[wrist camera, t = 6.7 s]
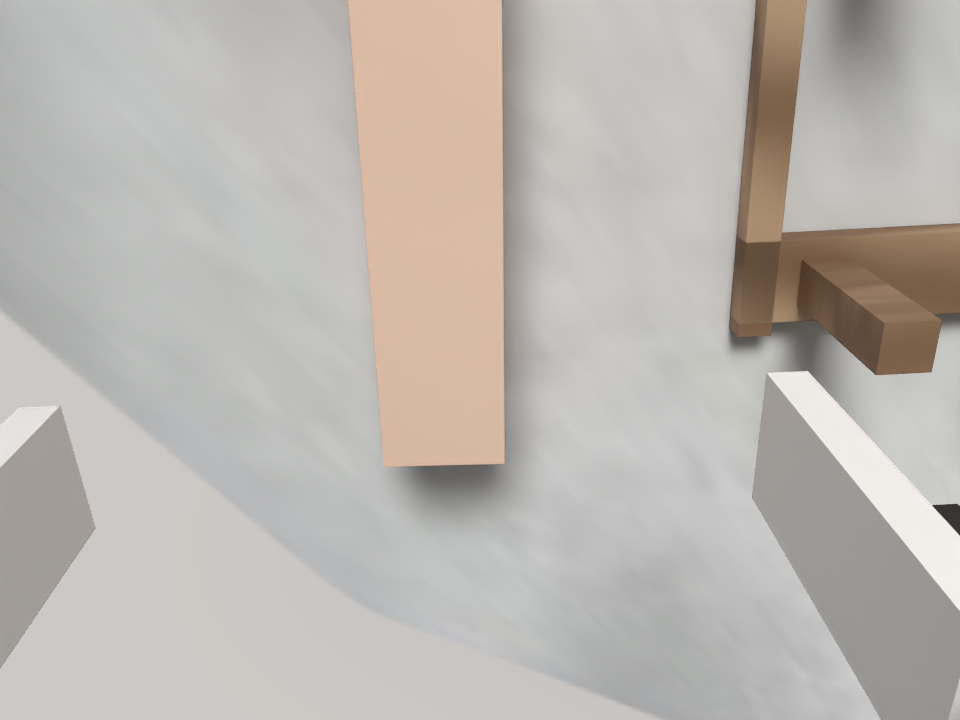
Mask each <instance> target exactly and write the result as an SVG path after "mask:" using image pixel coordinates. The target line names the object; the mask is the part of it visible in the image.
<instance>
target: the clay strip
mask: <svg viewBox="0 0 960 720" xmlns="http://www.w3.org/2000/svg"><path fill="white" fill-rule="evenodd" d="M348 8H349V21H350V34H351V47H352V60H353V73H354V86H355V99H356V112H357V125H358V138H359V151H360V164H361V177H362V190H363V203H364V216H365V229H366V242H367V255H368V268H369V281H370V294H371V307H372V320H373V333H374V346H375V359H376V372H377V385H378V398H379V411H380V424H381V437H382V450H383V463H384V467H395V466H435V465H475V464H505V460H504V281H503V103H502V0H348Z"/></svg>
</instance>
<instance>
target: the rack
mask: <svg viewBox="0 0 960 720" xmlns="http://www.w3.org/2000/svg"><path fill="white" fill-rule="evenodd" d="M806 3H807V0H757V2H756V14H755V26H754V38H753V50H752V61H751V73H750V85H749V97H748V109H747V121H746V133H745V145H744V157H743V168H742V180H741V192H740V204H739V216H738V228H737V240H736V252H735V263H734V275H733V287H732V299H731V311H730V323H729V327H730V329H731V330H732V331H733V332H734V333H735V335H736V336H737V337H751V336H770V335H771V329H772V323H773V322H793V321H812V320H816V321H817V322H818V323H819V324H820V325H821V326H822V327H824V328H825V329H826V330H827V331H828V332H829V333H830V334H831V335H832V336H833V337H835V338H836V339H837V340H838V341H839V342H840V343H841V344H842V345H843V346H844V347H846V348H847V349H848V350H849V351H850V352H851V353H852V354H853V355H854V356H855V357H856V358H858V359H859V360H860V361H861V362H862V363H863V364H864V365H865V366H866V367H867V368H869V369H870V370H871V371H872V372H873V373H874V374H875V375H887V374H907V373H926V372H932V368H933V363H934V358H935V353H936V348H937V343H938V338H939V333H940V328H941V323H942V320H941V319H939V318H938V317H936V316H935V315H934V314H946V313H960V224H941V225H921V226H902V227H883V228H864V229H845V230H826V231H807V232H788V233H782V226H783V217H784V208H785V198H786V189H787V180H788V171H789V161H790V152H791V143H792V133H793V124H794V115H795V105H796V96H797V87H798V77H799V68H800V59H801V50H802V40H803V31H804V22H805V12H806Z"/></svg>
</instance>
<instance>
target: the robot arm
mask: <svg viewBox="0 0 960 720" xmlns="http://www.w3.org/2000/svg"><path fill="white" fill-rule="evenodd" d="M752 498H753V500H754V502H755V503H756V505H757V507H758V508H759V510H760V512H761V514H762V515H763V517H764V519H765V520H766V522H767V524H768V526H769V527H770V529H771V531H772V533H773V534H774V536H775V538H776V539H777V541H778V543H779V545H780V546H781V548H782V550H783V551H784V553H785V555H786V557H787V558H788V560H789V562H790V564H791V565H792V567H793V569H794V570H795V572H796V574H797V576H798V577H799V579H800V581H801V582H802V584H803V586H804V588H805V589H806V591H807V593H808V594H809V596H810V598H811V600H812V601H813V603H814V605H815V607H816V608H817V610H818V612H819V613H820V615H821V617H822V619H823V620H824V622H825V624H826V625H827V627H828V629H829V631H830V632H831V634H832V636H833V637H834V639H835V641H836V643H837V644H838V646H839V648H840V650H841V651H842V653H843V655H844V656H845V658H846V660H847V662H848V663H849V665H850V667H851V668H852V670H853V672H854V674H855V675H856V677H857V679H858V680H859V682H860V684H861V686H862V687H863V689H864V691H865V693H866V694H867V696H868V698H869V699H870V701H871V703H872V705H873V706H874V708H875V710H876V711H877V713H878V715H879V717H880V718H881V720H960V506H959V505H958V504H946V505H931V504H930V503H929V502H928V501H927V500H926V499H925V498H924V496H923V495H922V494H921V493H920V492H919V491H918V490H917V489H916V488H915V487H914V486H913V485H912V483H911V482H910V481H909V480H908V479H907V478H906V477H905V476H904V475H903V474H902V473H901V472H900V470H899V469H898V468H897V467H896V466H895V465H894V464H893V463H892V462H891V461H890V460H889V459H888V457H887V456H886V455H885V454H884V453H883V452H882V451H881V450H880V449H879V448H878V447H877V446H876V444H875V443H874V442H873V441H872V440H871V439H870V438H869V437H868V436H867V435H866V434H865V432H864V431H863V430H862V429H861V428H860V427H859V426H858V425H857V424H856V423H855V422H854V421H853V419H852V418H851V417H850V416H849V415H848V414H847V413H846V412H845V411H844V410H843V409H842V408H841V406H840V405H839V404H838V403H837V402H836V401H835V400H834V399H833V398H832V397H831V396H830V395H829V393H828V392H827V391H826V390H825V389H824V388H823V387H822V386H821V385H820V384H819V383H818V382H817V380H816V379H815V378H814V377H813V376H812V375H811V374H810V373H809V372H808V371H797V372H776V373H767V375H766V383H765V392H764V400H763V409H762V417H761V425H760V434H759V442H758V451H757V459H756V467H755V476H754V484H753V493H752ZM94 529H95V524H94V521H93V518H92V514H91V511H90V508H89V504H88V500H87V497H86V493H85V490H84V486H83V483H82V479H81V476H80V472H79V469H78V465H77V462H76V459H75V455H74V452H73V448H72V445H71V441H70V438H69V434H68V431H67V427H66V424H65V421H64V417H63V414H62V410H61V406H41V407H19V408H18V409H17V410H16V411H15V412H14V413H13V414H12V415H10V416H9V417H8V418H7V419H6V420H5V421H4V422H3V423H2V424H1V425H0V668H1V666H2V665H3V664H4V662H5V661H6V659H7V658H8V656H9V655H10V653H11V652H12V650H13V649H14V647H15V646H16V645H17V643H18V642H19V640H20V639H21V637H22V635H23V634H24V633H25V631H26V630H27V628H28V627H29V625H30V624H31V622H32V621H33V619H34V618H35V616H36V615H37V614H38V612H39V611H40V609H41V608H42V606H43V605H44V603H45V602H46V600H47V599H48V597H49V596H50V594H51V593H52V591H53V590H54V588H55V587H56V586H57V584H58V583H59V581H60V580H61V578H62V576H63V575H64V574H65V572H66V571H67V569H68V568H69V566H70V565H71V563H72V562H73V561H74V559H75V558H76V556H77V555H78V553H79V552H80V550H81V549H82V547H83V546H84V544H85V543H86V541H87V540H88V538H89V537H90V535H91V534H92V533H93V531H94Z"/></svg>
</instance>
